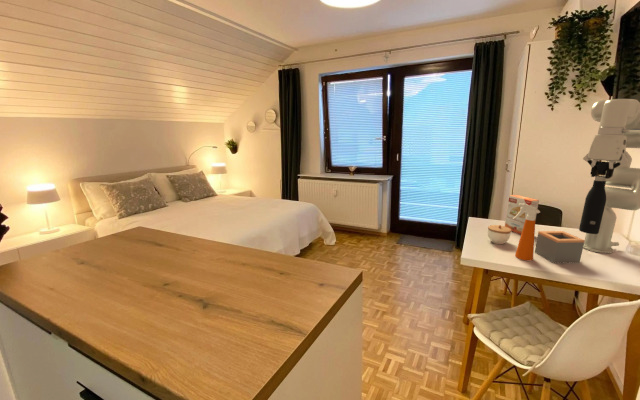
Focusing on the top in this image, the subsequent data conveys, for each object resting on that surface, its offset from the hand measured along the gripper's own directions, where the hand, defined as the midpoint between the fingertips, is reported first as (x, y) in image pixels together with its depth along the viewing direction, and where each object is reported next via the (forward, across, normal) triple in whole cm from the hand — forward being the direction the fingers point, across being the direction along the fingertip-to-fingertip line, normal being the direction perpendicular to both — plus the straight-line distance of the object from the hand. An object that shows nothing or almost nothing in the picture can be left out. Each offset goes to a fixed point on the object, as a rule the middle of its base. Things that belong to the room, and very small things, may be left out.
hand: (600, 177), depth 122 cm
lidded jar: (+40, +35, +5) cm, 53 cm away
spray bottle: (+40, +18, +15) cm, 46 cm away
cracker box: (+40, +39, -20) cm, 60 cm away
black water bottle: (+24, 0, 0) cm, 24 cm away
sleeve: (+40, +10, 0) cm, 41 cm away
